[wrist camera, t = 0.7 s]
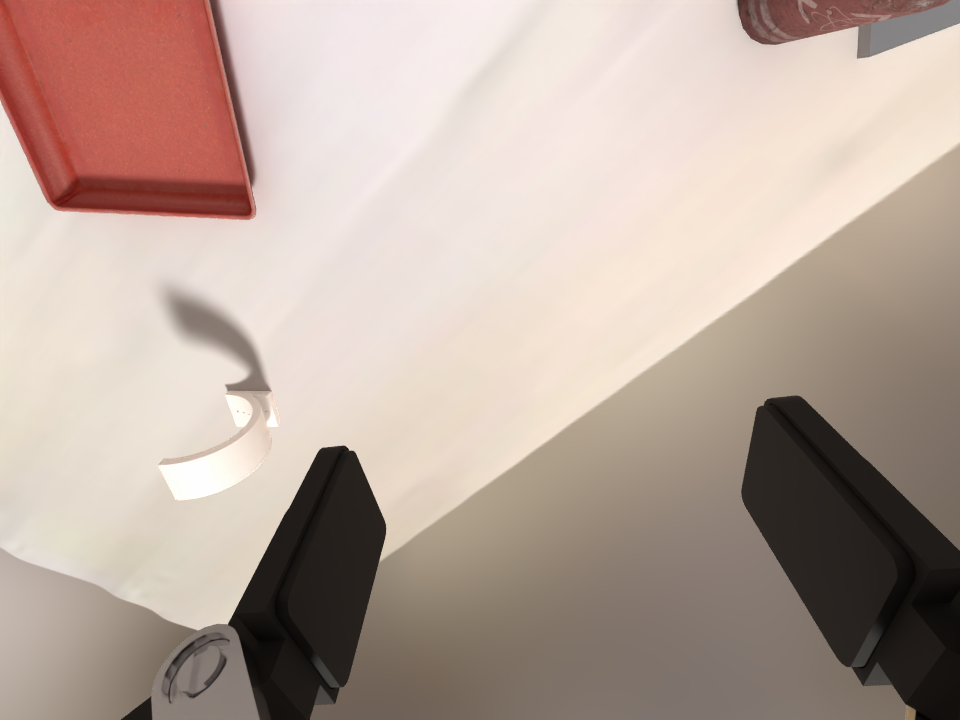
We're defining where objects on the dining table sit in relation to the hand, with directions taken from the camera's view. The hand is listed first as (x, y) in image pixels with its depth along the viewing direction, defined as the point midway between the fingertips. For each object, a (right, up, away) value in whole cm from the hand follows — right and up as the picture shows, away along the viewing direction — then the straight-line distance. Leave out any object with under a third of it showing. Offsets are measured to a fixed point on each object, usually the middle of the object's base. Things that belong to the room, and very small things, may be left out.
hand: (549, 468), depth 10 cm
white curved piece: (-27, -3, +40) cm, 49 cm away
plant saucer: (-29, +24, +25) cm, 46 cm away
